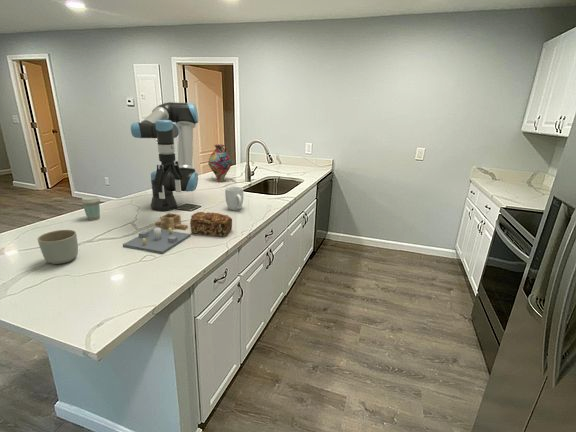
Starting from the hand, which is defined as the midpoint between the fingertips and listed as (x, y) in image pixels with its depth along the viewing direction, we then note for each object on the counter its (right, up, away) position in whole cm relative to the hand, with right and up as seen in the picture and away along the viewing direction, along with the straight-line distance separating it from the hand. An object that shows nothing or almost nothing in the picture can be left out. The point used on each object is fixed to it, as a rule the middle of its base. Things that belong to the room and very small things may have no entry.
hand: (170, 195), depth 161 cm
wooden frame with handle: (-1, -16, +5) cm, 17 cm away
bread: (+21, -19, 0) cm, 28 cm away
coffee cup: (-47, -12, +13) cm, 50 cm away
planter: (-31, -29, -33) cm, 54 cm away
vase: (+3, +19, +107) cm, 108 cm away
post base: (-1, -22, -13) cm, 26 cm away
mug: (+27, -7, +36) cm, 46 cm away
